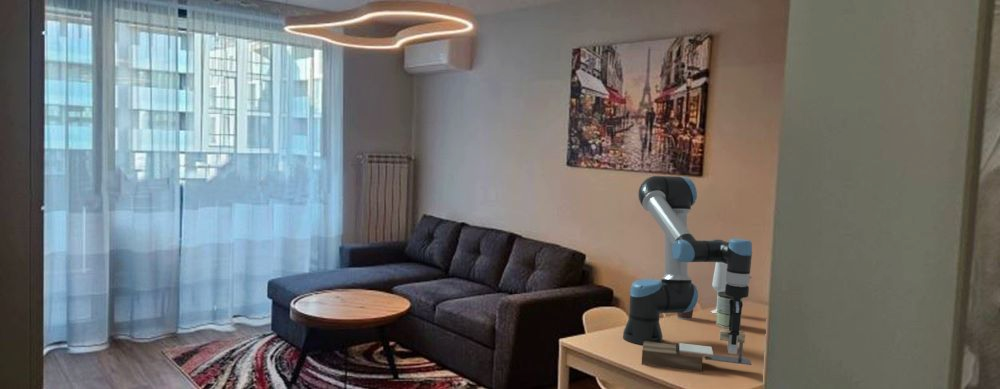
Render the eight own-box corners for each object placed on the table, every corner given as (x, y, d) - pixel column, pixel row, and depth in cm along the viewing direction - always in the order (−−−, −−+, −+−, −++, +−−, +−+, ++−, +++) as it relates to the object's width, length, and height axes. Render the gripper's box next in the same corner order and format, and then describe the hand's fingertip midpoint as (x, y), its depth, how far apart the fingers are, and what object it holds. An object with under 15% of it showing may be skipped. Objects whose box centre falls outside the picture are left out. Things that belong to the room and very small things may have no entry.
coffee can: (719, 321, 300) (721, 290, 299) (743, 325, 294) (745, 293, 293) (712, 325, 291) (715, 293, 290) (737, 330, 286) (740, 297, 285)
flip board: (642, 354, 244) (643, 339, 244) (700, 361, 239) (701, 346, 239) (641, 364, 232) (642, 348, 232) (701, 371, 228) (702, 355, 227)
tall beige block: (749, 360, 232) (751, 331, 231) (751, 365, 226) (753, 336, 226) (704, 354, 236) (706, 326, 235) (705, 359, 230) (707, 331, 229)
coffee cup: (697, 321, 298) (699, 294, 297) (676, 320, 298) (678, 293, 297) (691, 316, 307) (693, 290, 306) (671, 314, 307) (673, 289, 306)
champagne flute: (707, 311, 319) (711, 261, 317) (721, 311, 319) (725, 261, 318) (713, 314, 312) (716, 263, 311) (727, 315, 313) (731, 264, 311)
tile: (679, 346, 239) (679, 342, 239) (711, 350, 237) (711, 346, 236) (679, 353, 231) (679, 350, 230) (712, 357, 228) (713, 354, 228)
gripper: (751, 290, 220) (746, 360, 222) (746, 281, 236) (741, 346, 237) (727, 287, 222) (722, 357, 224) (724, 279, 238) (719, 344, 239)
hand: (732, 351), depth 231 cm, fingers closed on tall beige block, 3 cm apart
